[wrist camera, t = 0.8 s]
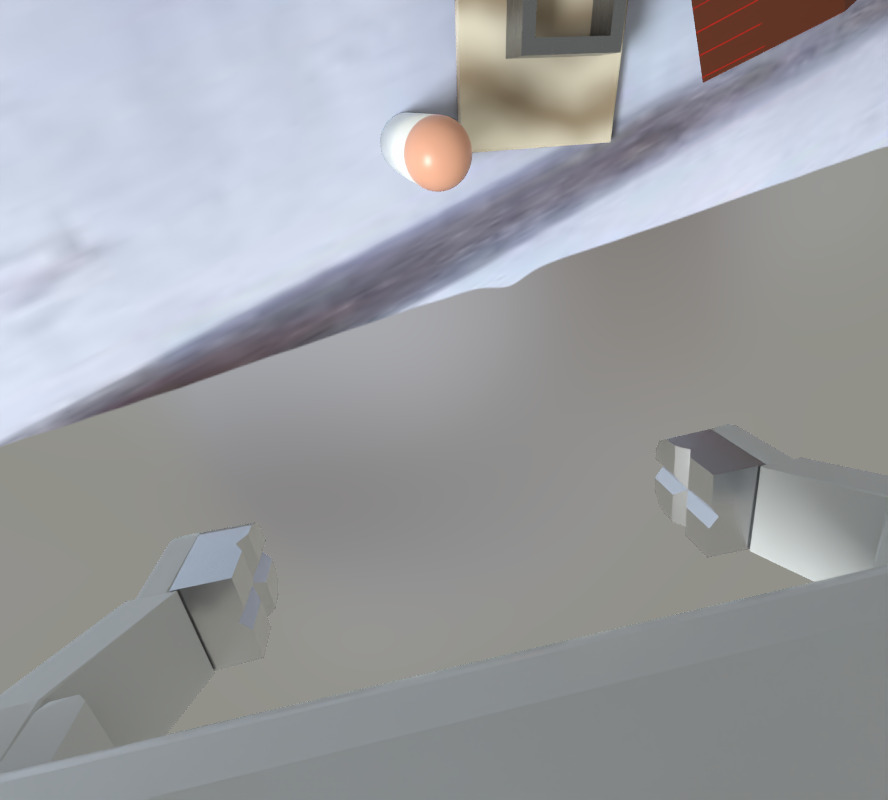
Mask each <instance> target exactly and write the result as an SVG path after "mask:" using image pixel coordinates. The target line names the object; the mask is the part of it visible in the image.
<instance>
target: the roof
mask: <svg viewBox="0 0 888 800" xmlns="http://www.w3.org/2000/svg"><path fill="white" fill-rule="evenodd" d="M855 1H856V0H692V7H693V14H694V22H695V29H696V36H697V43H698V50H699V57H700V64H701V72H702V79H703V82H705V81H707V80H709V79H711V78H713V77H715V76H717V75H719V74H721V73H723V72H725V71H727V70H729V69H731V68H733V67H735V66H737V65H739V64H741V63H743V62H745V61H747V60H749V59H751V58H753V57H755V56H757V55H759V54H761V53H763V52H765V51H767V50H769V49H771V48H773V47H775V46H777V45H779V44H781V43H783V42H785V41H787V40H789V39H791V38H793V37H795V36H797V35H799V34H801V33H803V32H805V31H807V30H809V29H811V28H812V27H814V26H816V25H818V24H820V23H822V22H824V21H826V20H828V19H830V18H832V17H834V16H836V15H838V14H840V13H842V12H844V11H845V10H847V9H848V8H849V7H850V6H851V5H852V4H853V3H854V2H855Z"/></svg>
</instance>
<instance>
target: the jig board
mask: <svg viewBox="0 0 888 800" xmlns="http://www.w3.org/2000/svg"><path fill="white" fill-rule="evenodd" d="M627 4H628V0H627ZM592 8H593V0H537V11H536V32H535V38H536V37H577V36H590V29H591V18H592ZM626 12H627V6H626ZM506 15H507V0H455V19H456V62H457V104H458V122H459V123H460V124H461V125H462V126H463V128H464V129H465V130H466V132H467V134H468V136H469V138H470V142H471V146H472V153H473V152H486V151H499V150H513V149H526V148H539V147H552V146H565V145H579V144H592V143H605V142H610V141H611V133H612V125H613V117H614V109H615V101H616V93H617V85H618V77H619V69H620V60H621V52H622V46H621V52H620V53H614V54H607V55H601V56H578V57H548V58H519V59H506ZM625 20H626V14H625ZM624 28H625V22H624ZM623 36H624V30H623ZM622 44H623V38H622Z"/></svg>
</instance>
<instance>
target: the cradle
mask: <svg viewBox="0 0 888 800" xmlns="http://www.w3.org/2000/svg"><path fill="white" fill-rule="evenodd" d="M626 6H627V0H593V8H592V18H591V29H590V36H577V37H536V38H535V32H536V11H537V0H507V15H506V59H519V58H548V57H578V56H601V55H607V54H614V53H620V52H621V46H622V38H623V30H624V22H625V14H626Z"/></svg>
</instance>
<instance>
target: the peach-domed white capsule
mask: <svg viewBox="0 0 888 800" xmlns="http://www.w3.org/2000/svg"><path fill="white" fill-rule="evenodd" d="M380 147H381V152H382V155H383V158H384V160H385V161H386V163H387V164H388V165H389V166H390V167H391V168H392V169H393V170H394V171H396V172H398V173H399V174H401V175H403V176H404V177H406V178H408V179H409V180H411V181H413V182H414V183H416V184H418V185H419V186H421V187H422V188H425V189H427V190H430V191H436V192H441V191H446V190H449V189H451V188H453V187H455V186H456V185H458V184H459V183H460V182H461V181H462V180H463V179H464V177H465V176H466V174H467V172H468V170H469V168H470V165H471V160H472V146H471V142H470V138H469V136H468V134H467V132H466V130H465V129H464V128H463V126H462V125H461V124H460V123H459V122H457V121H456V120H455V119H453V118H451V117H449V116H446V115H441V114H425V113H408V112H405V113H400V114H397V115H395V116H393V117H392V118H391V119H390V120H389V121H388V122H387V123H386V125H385V126H384V128H383V130H382V134H381V139H380Z"/></svg>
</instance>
